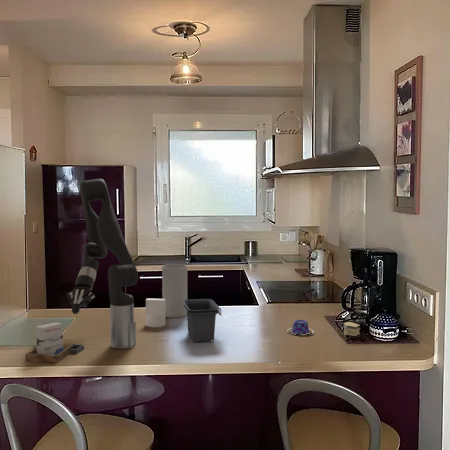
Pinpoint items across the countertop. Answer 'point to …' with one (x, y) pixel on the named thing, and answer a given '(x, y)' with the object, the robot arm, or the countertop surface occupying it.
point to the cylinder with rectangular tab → (155, 312)
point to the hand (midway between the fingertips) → (74, 313)
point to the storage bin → (201, 318)
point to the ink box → (49, 338)
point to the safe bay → (46, 356)
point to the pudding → (300, 327)
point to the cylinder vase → (174, 289)
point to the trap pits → (73, 348)
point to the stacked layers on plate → (351, 329)
